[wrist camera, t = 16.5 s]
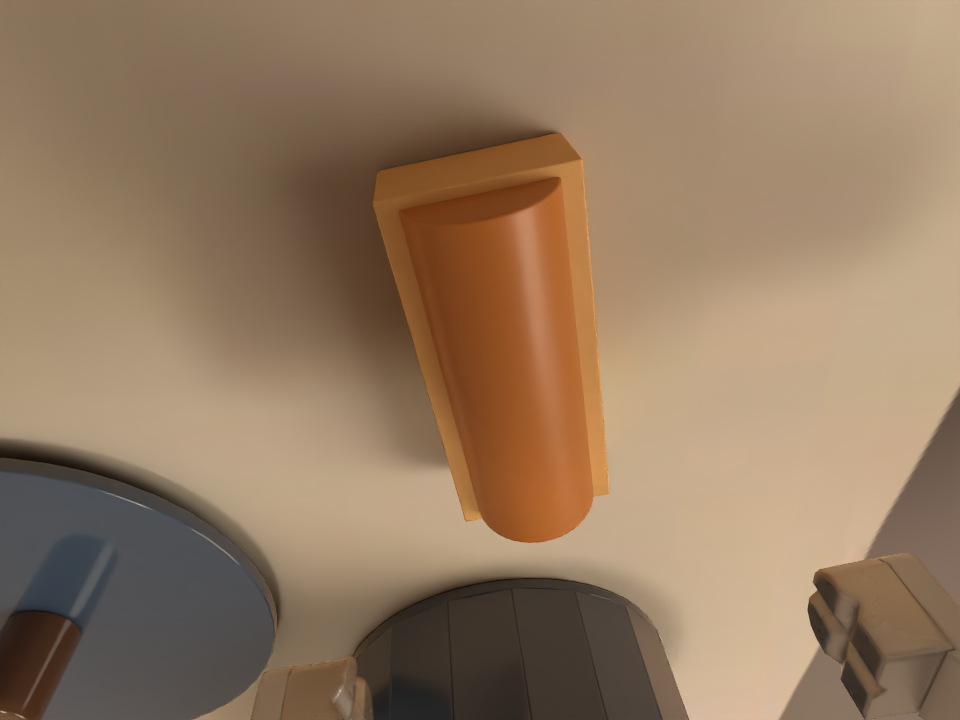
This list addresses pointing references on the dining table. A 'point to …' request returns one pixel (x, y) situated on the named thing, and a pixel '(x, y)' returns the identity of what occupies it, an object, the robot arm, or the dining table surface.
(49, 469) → the crock lid
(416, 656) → the crock
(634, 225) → the dining table surface
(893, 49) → the dining table surface
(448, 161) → the orange rounded bar
